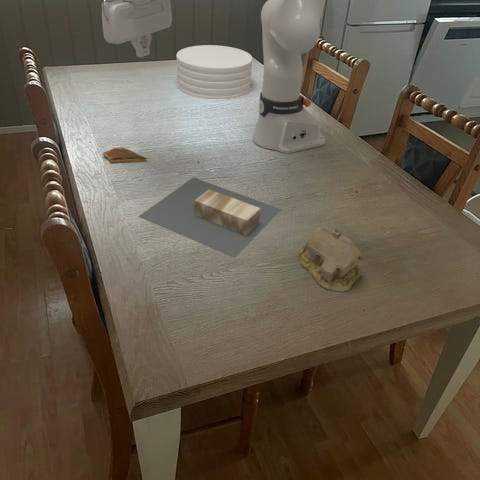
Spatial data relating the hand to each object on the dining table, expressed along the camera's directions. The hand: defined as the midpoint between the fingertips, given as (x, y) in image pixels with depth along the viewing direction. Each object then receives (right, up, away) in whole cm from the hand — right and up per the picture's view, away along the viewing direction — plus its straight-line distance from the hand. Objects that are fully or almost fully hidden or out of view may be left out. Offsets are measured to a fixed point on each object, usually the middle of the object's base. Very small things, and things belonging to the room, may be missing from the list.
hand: (143, 55), depth 109 cm
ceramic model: (+41, -50, -12) cm, 66 cm away
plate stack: (+13, +15, +69) cm, 72 cm away
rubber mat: (+16, -37, +1) cm, 41 cm away
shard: (-10, -20, +21) cm, 31 cm away
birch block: (+14, -34, 0) cm, 37 cm away
